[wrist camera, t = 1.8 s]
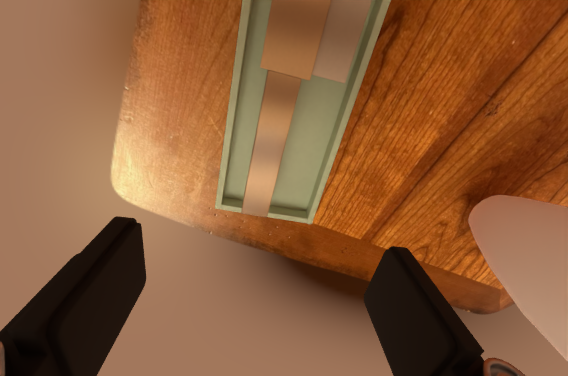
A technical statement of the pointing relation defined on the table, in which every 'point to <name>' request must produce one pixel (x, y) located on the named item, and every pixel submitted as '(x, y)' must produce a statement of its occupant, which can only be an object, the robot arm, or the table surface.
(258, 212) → the brush
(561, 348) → the cup
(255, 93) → the tray
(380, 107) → the table surface
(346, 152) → the table surface
